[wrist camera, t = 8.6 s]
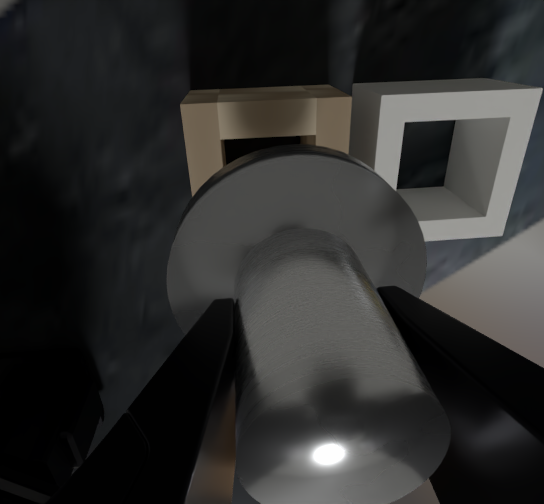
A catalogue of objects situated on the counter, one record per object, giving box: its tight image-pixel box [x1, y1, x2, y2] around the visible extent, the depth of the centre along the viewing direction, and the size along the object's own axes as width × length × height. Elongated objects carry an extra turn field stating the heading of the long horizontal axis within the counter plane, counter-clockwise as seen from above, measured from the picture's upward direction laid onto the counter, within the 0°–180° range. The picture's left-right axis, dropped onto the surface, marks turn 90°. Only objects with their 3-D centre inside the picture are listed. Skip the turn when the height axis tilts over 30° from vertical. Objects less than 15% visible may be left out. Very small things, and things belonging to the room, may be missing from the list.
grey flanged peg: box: [167, 144, 451, 504], centre depth 9 cm, size 6×6×9 cm
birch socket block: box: [180, 85, 352, 197], centre depth 18 cm, size 6×6×4 cm
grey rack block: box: [348, 78, 543, 241], centre depth 18 cm, size 6×6×4 cm
